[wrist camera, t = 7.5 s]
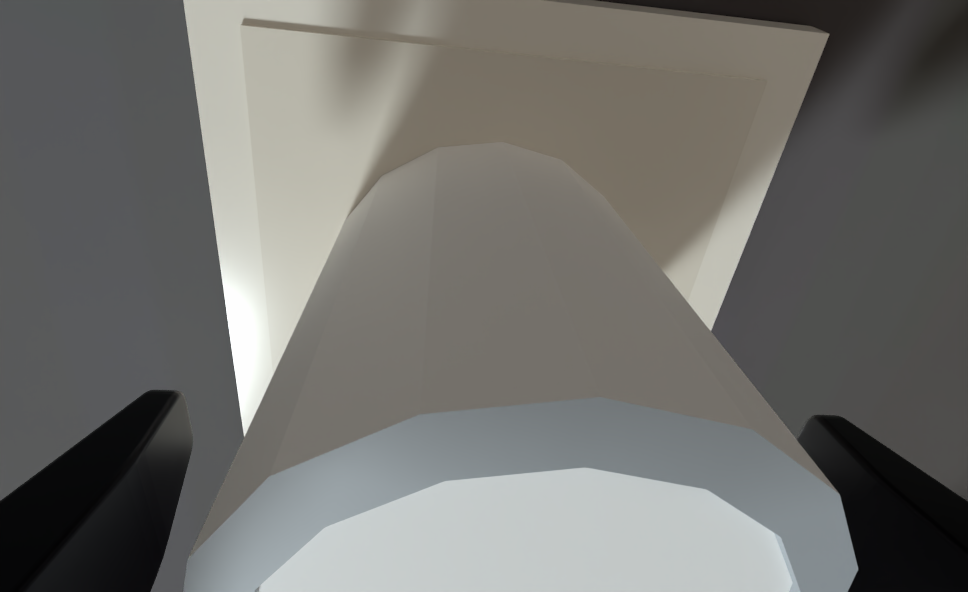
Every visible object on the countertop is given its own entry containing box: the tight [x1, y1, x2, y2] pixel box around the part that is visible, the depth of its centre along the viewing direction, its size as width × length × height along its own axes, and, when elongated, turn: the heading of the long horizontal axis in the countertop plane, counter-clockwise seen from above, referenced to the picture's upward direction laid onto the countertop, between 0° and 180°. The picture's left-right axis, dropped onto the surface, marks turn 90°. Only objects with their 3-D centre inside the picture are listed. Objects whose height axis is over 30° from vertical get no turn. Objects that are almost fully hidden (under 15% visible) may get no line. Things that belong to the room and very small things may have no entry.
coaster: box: [183, 0, 829, 437], centre depth 12 cm, size 10×10×1 cm
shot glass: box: [183, 142, 858, 592], centre depth 9 cm, size 7×7×7 cm
